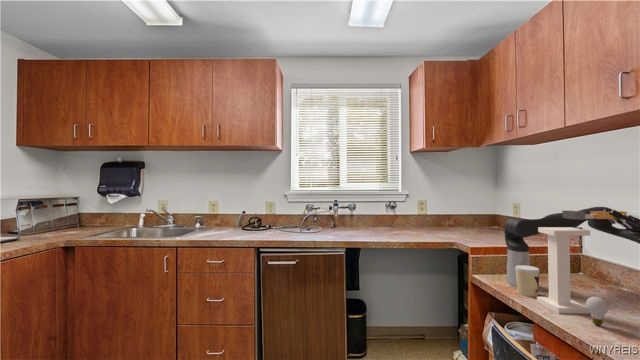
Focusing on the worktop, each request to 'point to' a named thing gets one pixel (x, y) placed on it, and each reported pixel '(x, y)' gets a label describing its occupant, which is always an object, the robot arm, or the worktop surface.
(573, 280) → the worktop surface
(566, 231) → the white pedestal stand
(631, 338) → the worktop surface
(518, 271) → the coffee cup
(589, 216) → the putter
